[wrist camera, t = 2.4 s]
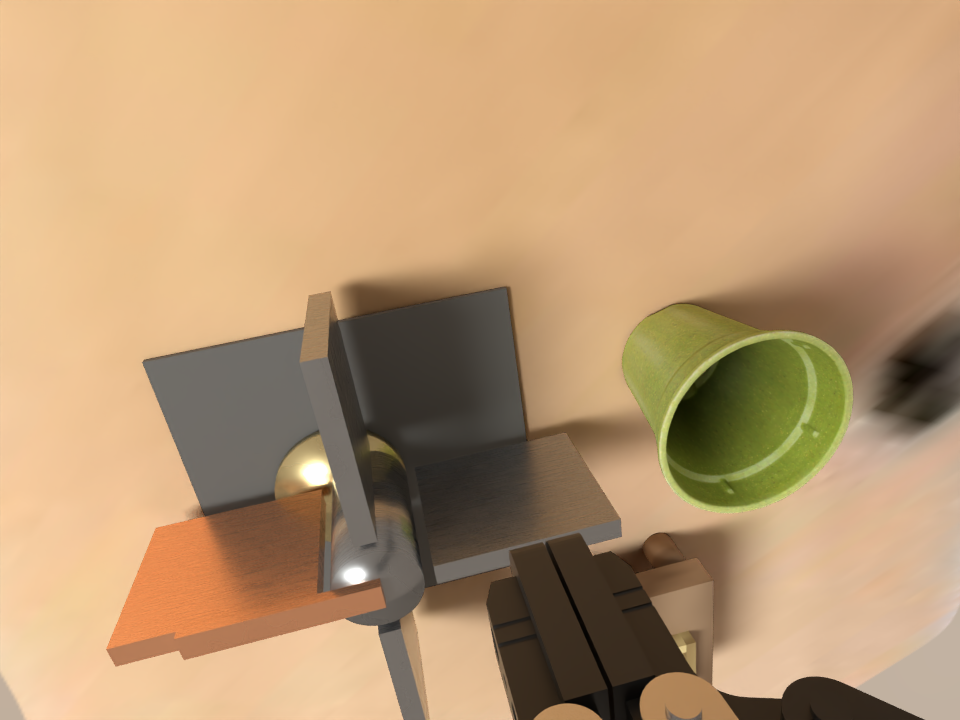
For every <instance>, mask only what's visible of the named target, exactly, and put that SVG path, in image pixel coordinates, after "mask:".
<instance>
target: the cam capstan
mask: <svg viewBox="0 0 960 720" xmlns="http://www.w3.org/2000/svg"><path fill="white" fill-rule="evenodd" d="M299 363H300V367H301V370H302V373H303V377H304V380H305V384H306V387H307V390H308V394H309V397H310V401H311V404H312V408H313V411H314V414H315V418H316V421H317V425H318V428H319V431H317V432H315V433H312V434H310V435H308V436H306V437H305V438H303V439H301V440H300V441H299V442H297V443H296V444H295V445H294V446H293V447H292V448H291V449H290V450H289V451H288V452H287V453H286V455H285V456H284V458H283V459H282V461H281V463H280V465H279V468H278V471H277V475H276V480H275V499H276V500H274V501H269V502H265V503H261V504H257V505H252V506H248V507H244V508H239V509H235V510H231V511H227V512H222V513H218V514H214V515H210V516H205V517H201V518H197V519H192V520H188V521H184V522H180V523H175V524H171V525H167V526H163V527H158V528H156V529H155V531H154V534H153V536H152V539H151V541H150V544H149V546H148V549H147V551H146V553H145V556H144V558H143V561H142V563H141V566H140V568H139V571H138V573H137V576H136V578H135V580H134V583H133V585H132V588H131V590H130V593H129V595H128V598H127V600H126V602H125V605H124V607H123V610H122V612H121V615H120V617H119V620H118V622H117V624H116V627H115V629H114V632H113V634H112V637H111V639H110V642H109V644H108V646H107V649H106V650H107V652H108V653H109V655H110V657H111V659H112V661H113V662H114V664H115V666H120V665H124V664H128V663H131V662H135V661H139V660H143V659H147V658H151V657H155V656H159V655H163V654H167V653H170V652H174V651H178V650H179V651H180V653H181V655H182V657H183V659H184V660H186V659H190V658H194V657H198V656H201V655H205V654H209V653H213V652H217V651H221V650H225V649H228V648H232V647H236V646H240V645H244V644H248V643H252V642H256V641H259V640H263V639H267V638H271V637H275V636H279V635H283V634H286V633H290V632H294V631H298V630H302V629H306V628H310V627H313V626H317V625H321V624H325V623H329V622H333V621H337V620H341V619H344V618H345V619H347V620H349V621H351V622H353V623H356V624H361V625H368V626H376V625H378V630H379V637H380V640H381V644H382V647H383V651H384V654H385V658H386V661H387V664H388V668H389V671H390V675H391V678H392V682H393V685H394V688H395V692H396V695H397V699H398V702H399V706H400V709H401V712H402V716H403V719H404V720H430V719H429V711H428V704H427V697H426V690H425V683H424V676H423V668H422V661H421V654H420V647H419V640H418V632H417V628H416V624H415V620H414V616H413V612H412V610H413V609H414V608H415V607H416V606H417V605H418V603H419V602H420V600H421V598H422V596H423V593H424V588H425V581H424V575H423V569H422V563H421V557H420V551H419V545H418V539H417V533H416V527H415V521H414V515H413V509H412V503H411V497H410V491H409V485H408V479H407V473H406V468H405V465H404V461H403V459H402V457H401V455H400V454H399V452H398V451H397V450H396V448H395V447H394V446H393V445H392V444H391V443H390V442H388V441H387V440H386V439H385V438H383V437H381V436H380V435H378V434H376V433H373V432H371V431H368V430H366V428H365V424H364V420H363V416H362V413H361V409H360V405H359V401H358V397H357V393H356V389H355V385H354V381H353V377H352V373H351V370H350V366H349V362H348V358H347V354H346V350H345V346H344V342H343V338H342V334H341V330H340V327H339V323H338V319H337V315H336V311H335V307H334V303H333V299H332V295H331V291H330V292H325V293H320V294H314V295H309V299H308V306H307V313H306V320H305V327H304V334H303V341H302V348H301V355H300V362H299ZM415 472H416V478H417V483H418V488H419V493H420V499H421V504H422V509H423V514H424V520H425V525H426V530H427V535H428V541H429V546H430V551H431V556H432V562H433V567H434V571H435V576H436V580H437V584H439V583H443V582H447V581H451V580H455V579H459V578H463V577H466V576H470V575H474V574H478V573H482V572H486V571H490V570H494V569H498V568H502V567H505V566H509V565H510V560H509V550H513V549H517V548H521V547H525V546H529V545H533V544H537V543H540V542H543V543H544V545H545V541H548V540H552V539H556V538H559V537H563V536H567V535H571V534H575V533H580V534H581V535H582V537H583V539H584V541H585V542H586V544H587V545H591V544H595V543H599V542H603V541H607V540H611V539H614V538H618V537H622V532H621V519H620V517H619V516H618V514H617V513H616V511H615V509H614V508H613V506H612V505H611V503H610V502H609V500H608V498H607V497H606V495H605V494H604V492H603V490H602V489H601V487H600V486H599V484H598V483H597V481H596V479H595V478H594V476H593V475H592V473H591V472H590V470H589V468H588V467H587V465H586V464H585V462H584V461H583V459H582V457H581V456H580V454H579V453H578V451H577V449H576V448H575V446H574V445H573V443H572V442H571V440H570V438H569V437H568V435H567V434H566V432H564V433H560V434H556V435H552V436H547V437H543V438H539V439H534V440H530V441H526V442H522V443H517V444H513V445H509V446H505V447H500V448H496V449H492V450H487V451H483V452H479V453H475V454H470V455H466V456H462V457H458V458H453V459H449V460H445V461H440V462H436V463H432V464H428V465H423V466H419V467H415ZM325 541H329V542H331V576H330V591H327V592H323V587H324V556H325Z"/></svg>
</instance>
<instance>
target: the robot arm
mask: <svg viewBox="0 0 960 720" xmlns="http://www.w3.org/2000/svg"><path fill="white" fill-rule="evenodd" d="M509 560H510V566H511V572H512V577H510V578H506V579H503V580H499V581H495V582H491V585H490V590H489V594H488V599H487V604H486V605H487V610H488V615H489V621H490V626H491V631H492V637H493V642H494V647H495V653H496V658H497V661H498V665H499V669H500V672H501V676H502V680H503V683H504V687H505V691H506V695H507V698H508V702H509V706H510V710H511V713H512V717H513V720H924V719H922V718H919V717H917V716H915V715H913V714H910V713H908V712H906V711H904V710H902V709H899V708H897V707H895V706H893V705H890V704H888V703H886V702H884V701H882V700H879V699H877V698H875V697H873V696H871V695H868V694H866V693H863V692H862V691H860V690H857V689H855V688H853V687H851V686H848V685H846V684H844V683H842V682H839V681H836V680H833V679H830V678H825V677H806V678H802V679H799V680H796V681H795V682H793V683H791V684H790V685H789V686H788V687H787V688H786V690H785V692H784V694H783V697H782V699H774V698H748V697H738V696H733V695H729V694H726V693H724V692H721V691H719V690H717V689H716V688H714V687H713V686H712V685H711V684H710V683H708V682H707V681H705V680H704V679H702V678H700V677H698V676H697V675H696V674H695V672H694V671H693V670H692V668H691V667H690V665H689V664H688V662H687V660H686V659H685V657H684V655H683V654H682V652H681V650H680V649H679V647H678V645H677V644H676V642H675V640H674V639H673V637H672V635H671V633H670V632H669V630H668V628H667V627H666V625H665V623H664V622H663V620H662V618H661V617H660V615H659V613H658V612H657V610H656V608H655V607H654V606H653V605H652V601H651V600H650V598H649V596H648V595H647V593H646V591H645V590H643V587H642V585H641V583H640V581H639V580H638V578H637V576H636V575H635V573H634V571H633V569H632V568H631V566H630V565H628V564H627V563H626V562H624V561H623V560H622V559H620V558H619V557H618V556H616V555H615V554H614V553H612V552H611V551H610V552H606V553H602V554H598V555H594V556H592V554H591V552H590V550H589V548H588V546H587V544H586V542H585V541H584V539H583V537H582V535H581V534H580V533H575V534H571V535H567V536H563V537H559V538H556V539H552V540H548V541H545V545H544V543H543V542H540V543H537V544H533V545H529V546H525V547H521V548H517V549H513V550H509Z"/></svg>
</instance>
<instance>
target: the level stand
mask: <svg viewBox="0 0 960 720" xmlns="http://www.w3.org/2000/svg"><path fill="white" fill-rule="evenodd" d="M643 552H644V554H645V555H646V557H647V559H648V560H649V562H650V563H651V565H652V566H653V568H654V569H651V570H648V571H644V572H640V573H636V574H635V575H636V576H637V578H638V580H639V581H640V583H641V585H642V587H643V590H645V591H646V593H647V595H648V596H649V598H650V600H651V601H652V605H653V606H654V607H655V608H656V610H657V612H658V613H659V615H660V617H661V618H662V620H663V622H664V623H665V625H666V627H667V628H668V630H669V632H670V633H671V635H672V637H673V639H674V640H675V642H676V644H677V645H678V647H679V649H680V650H681V652H682V654H683V655H684V657H685V659H686V660H687V662H688V664H689V665H690V667H691V668H692V670H693V671H694V672H695V674H696V675H697V676H698V677H700V678H702V679H704V680H705V681H707V682H708V683H710V684H711V685H712V663H713V598H714V580H713V579H712V577H711V576H710V575H709V573H708V572H707V571H706V569H705V568H704V567H703V565H702V564H701V563H700V561H699V560H698V559H697V558H693V559H689V560H686V559H685V558H684V556H683V555H682V553H681V552H680V551H679V549H678V548H677V546H676V545H675V544H674V542H673V541H672V539H671V538H670V537H669V536H668V535H667V534H665V533H657V534H654V535H652V536H650V537H649V538H648V539H647V540H646V541H645V543H644V545H643Z"/></svg>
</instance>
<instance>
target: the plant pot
mask: <svg viewBox="0 0 960 720" xmlns="http://www.w3.org/2000/svg"><path fill="white" fill-rule="evenodd" d="M622 368H623V373H624V377H625V380H626V382H627V385H628V387H629V388H630V390H631V392H632V394H633V396H634V397H635V399H636V401H637V402H638V404H639V406H640V408H641V410H642V412H643V413H644V415H645V417H646V419H647V421H648V422H649V424H650V426H651V428H652V430H653V432H654V434H655V438H656V443H657V447H658V459H659V464H660V467H661V470H662V473H663V475H664V477H665V479H666V481H667V483H668V484H669V486H670V487H671V489H672V490H673V491H674V492H675V493H676V494H677V495H678V496H679V497H680V498H681V499H683V500H684V501H685V502H687V503H689V504H690V505H692V506H694V507H697V508H699V509H703V510H706V511H711V512H717V513H741V512H745V511H751V510H755V509H759V508H762V507H765V506H768V505H770V504H772V503H775V502H777V501H780V500H782V499H784V498H786V497H787V496H789V495H791V494H792V493H794V492H795V491H797V490H798V489H800V488H801V487H802V486H804V485H805V484H806V483H807V482H808V481H809V480H811V479H812V478H813V477H814V476H815V475H816V474H817V473H818V472H819V471H820V470H821V469H822V468H823V467H824V466H825V465H826V464H827V463H828V461H829V460H830V459H831V457H832V456H833V454H834V453H835V451H836V450H837V448H838V446H839V445H840V443H841V441H842V439H843V437H844V435H845V433H846V430H847V428H848V424H849V421H850V417H851V412H852V406H853V386H852V381H851V376H850V373H849V370H848V368H847V366H846V364H845V362H844V360H843V358H842V357H841V356H840V355H839V353H838V352H837V351H836V350H835V349H834V348H833V347H831V346H830V345H829V344H827V343H826V342H824V341H822V340H821V339H819V338H817V337H814V336H812V335H810V334H807V333H804V332H799V331H792V330H771V331H769V330H759V329H756V328H754V327H751V326H748V325H746V324H743V323H741V322H738V321H735V320H733V319H730V318H727V317H724V316H722V315H719V314H717V313H714V312H711V311H709V310H706V309H704V308H701V307H699V306H696V305H691V304H675V305H671V306H669V307H667V308H665V309H663V310H661V311H659V312H657V313H655V314H653V315H650V316H648V317H646V318H645V319H644V320H643V321H642V322H640V323H639V325H638V326H637V327H636V328H635V329H634V331H633V332H632V334H631V335H630V337H629V338H628V341H627V343H626V345H625V349H624V352H623V357H622ZM704 371H705V372H704ZM703 372H704V373H703Z"/></svg>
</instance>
